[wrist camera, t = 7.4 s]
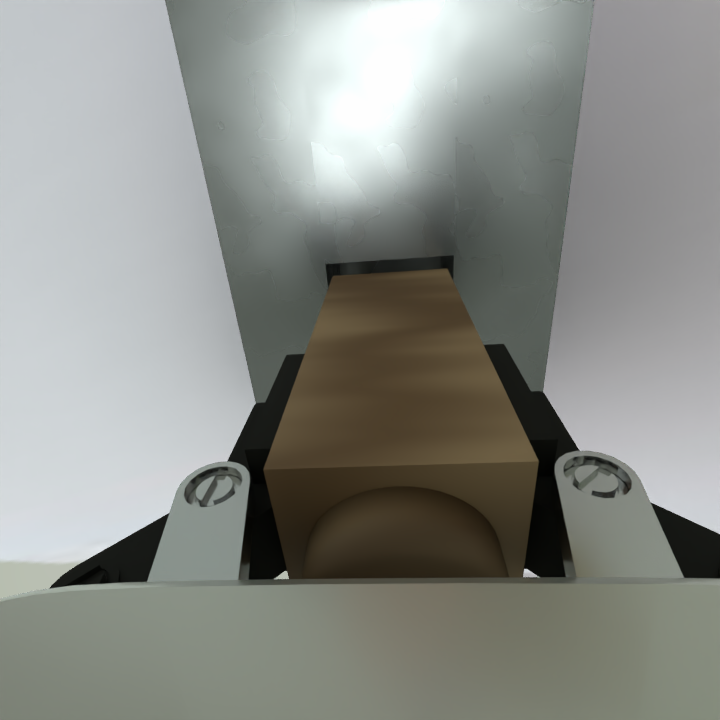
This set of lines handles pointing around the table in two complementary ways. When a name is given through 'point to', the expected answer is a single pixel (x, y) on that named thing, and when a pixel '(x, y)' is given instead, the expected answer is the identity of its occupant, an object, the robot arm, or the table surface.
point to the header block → (386, 154)
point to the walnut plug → (400, 441)
